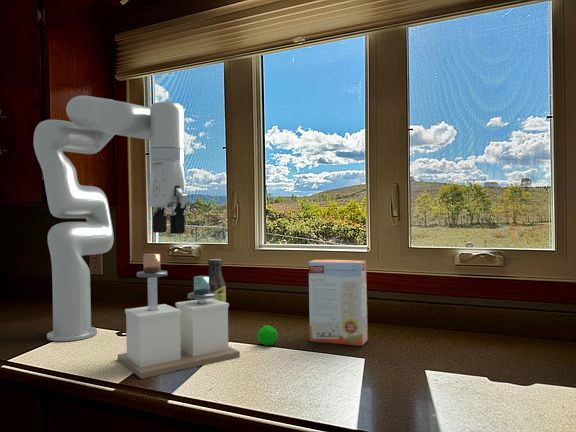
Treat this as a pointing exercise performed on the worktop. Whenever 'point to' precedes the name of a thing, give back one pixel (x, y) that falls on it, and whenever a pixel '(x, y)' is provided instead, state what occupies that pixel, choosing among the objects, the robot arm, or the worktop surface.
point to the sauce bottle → (216, 279)
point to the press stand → (176, 337)
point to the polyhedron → (267, 335)
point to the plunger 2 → (201, 290)
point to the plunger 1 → (152, 278)
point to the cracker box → (338, 302)
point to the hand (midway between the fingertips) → (168, 232)
